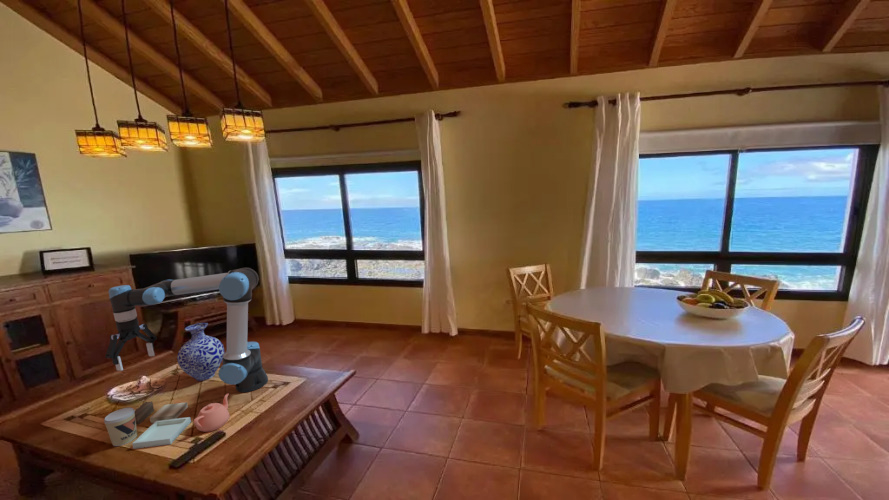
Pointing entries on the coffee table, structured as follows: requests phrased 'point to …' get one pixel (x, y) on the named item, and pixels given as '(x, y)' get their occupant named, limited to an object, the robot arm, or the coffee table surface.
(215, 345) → the vase
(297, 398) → the coffee table surface
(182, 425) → the tray
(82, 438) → the coffee table surface
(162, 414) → the grey wooden square slab
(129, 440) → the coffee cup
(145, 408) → the block
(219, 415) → the teapot
